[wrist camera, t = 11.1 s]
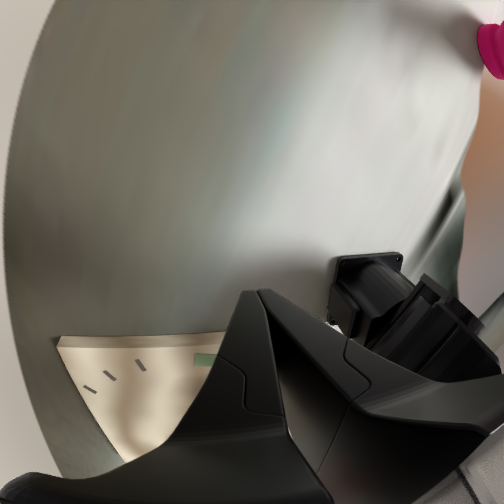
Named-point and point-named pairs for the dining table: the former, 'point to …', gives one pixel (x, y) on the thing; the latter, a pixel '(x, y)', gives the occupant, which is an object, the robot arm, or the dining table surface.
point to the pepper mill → (492, 48)
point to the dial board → (139, 383)
